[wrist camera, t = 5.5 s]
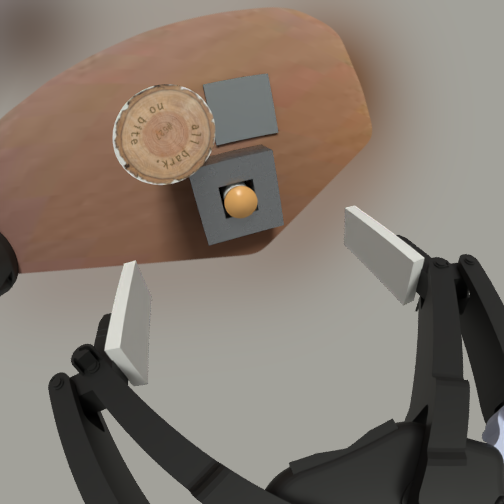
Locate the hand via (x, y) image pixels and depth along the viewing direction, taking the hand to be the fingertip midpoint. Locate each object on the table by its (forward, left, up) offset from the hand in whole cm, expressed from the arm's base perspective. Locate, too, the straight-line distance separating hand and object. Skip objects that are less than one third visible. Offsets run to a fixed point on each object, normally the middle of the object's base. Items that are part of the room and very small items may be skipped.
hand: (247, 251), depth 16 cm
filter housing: (+3, -6, -29) cm, 30 cm away
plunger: (+3, -6, -28) cm, 29 cm away
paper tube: (-3, +7, -29) cm, 31 cm away
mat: (+7, +7, -29) cm, 31 cm away
